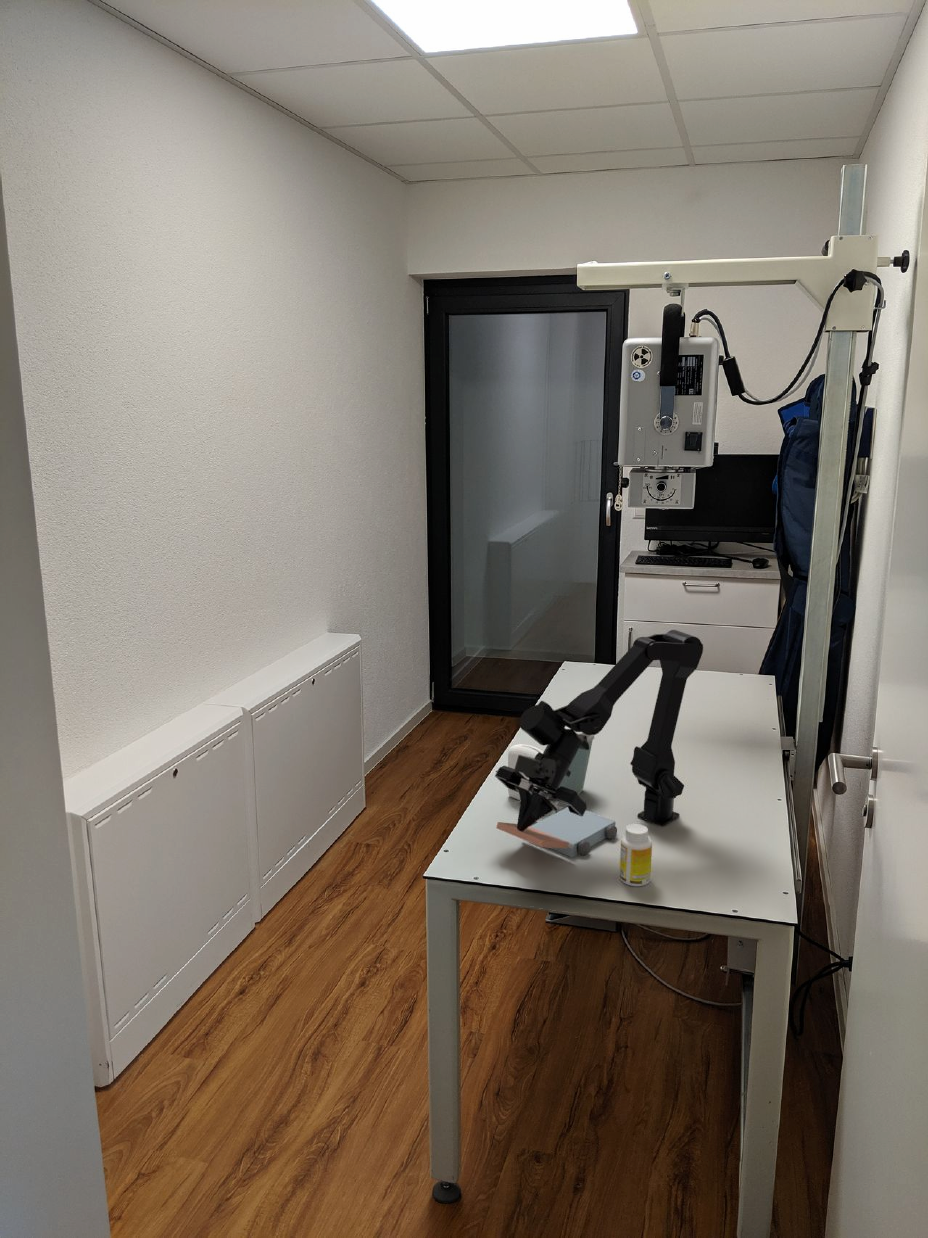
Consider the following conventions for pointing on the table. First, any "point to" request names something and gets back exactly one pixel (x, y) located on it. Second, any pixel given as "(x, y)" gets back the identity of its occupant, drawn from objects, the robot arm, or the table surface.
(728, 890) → the table surface
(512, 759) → the photo printer
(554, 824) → the cart bed
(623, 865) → the supplement bottle
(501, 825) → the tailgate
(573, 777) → the disposable coffee cup
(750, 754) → the table surface
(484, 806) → the table surface
